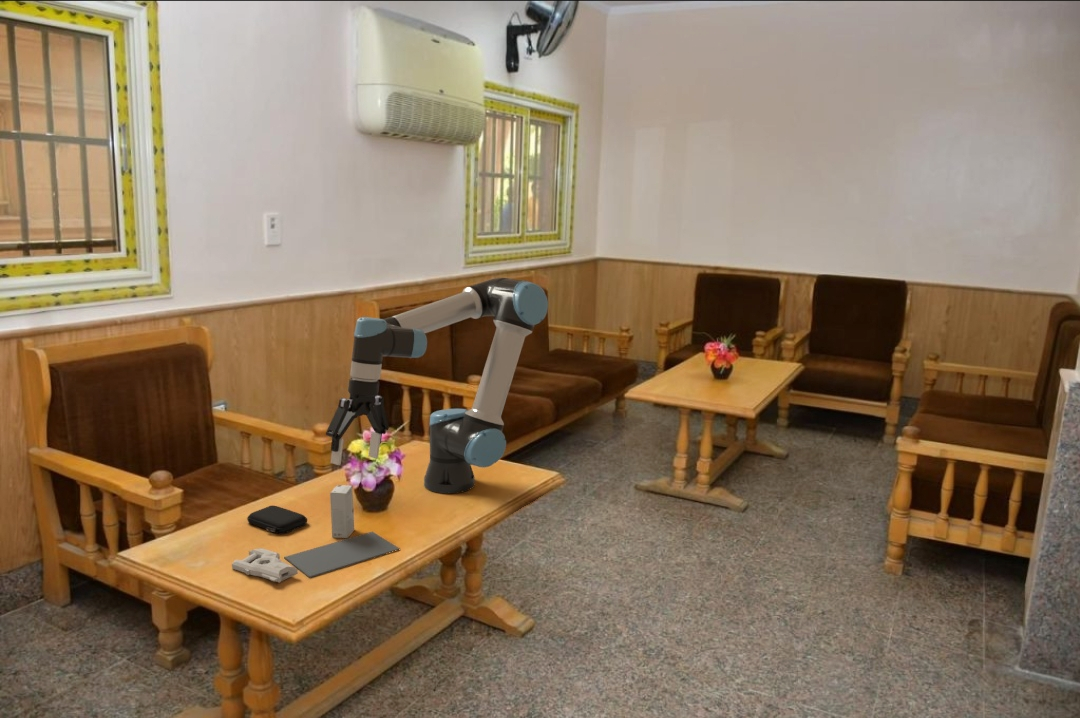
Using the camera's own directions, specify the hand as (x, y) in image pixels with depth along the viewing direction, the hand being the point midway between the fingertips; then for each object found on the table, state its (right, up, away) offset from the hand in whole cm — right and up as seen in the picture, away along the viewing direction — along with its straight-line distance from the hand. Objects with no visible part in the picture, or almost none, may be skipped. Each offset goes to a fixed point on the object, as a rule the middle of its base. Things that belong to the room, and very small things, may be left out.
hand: (354, 460), depth 214 cm
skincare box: (-3, -19, +2) cm, 20 cm away
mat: (-1, -21, -10) cm, 24 cm away
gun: (-16, -24, -19) cm, 34 cm away
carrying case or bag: (-22, -18, +7) cm, 29 cm away
